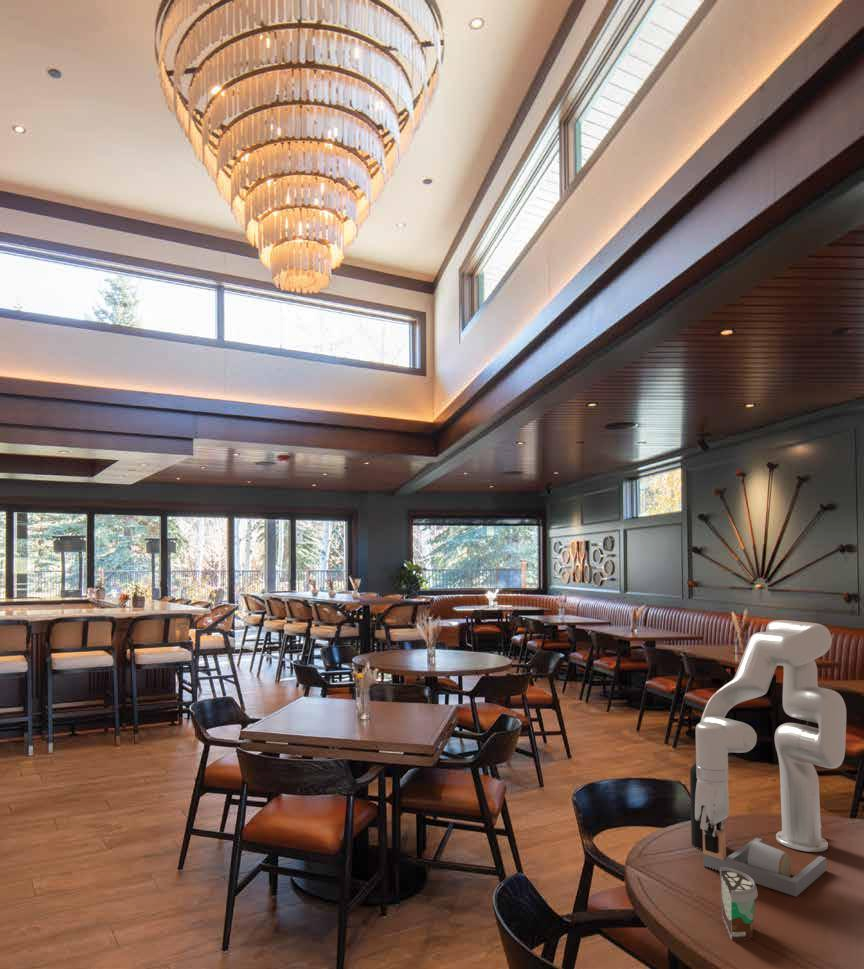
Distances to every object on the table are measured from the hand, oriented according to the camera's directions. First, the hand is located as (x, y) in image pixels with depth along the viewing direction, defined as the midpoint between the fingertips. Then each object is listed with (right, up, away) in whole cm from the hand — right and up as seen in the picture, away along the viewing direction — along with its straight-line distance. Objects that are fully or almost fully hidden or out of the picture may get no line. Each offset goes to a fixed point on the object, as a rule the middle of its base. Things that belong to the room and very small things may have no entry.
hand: (714, 849), depth 178 cm
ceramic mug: (+12, -5, -4) cm, 14 cm away
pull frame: (+12, -5, 0) cm, 13 cm away
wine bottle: (+3, -6, +14) cm, 16 cm away
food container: (-6, -2, -30) cm, 30 cm away
